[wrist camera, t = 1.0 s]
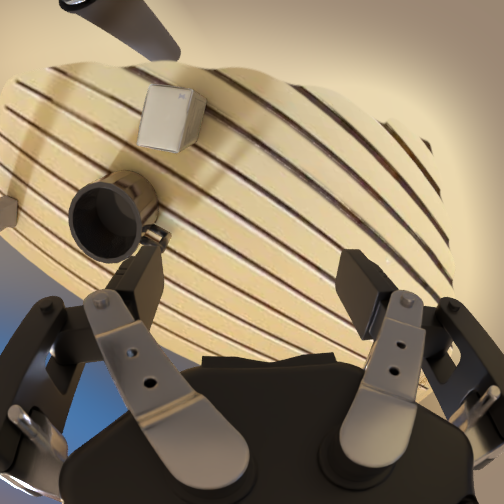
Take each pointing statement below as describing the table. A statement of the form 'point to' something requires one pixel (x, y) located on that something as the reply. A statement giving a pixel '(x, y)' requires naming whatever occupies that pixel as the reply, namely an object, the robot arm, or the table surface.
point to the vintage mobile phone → (8, 212)
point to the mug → (115, 217)
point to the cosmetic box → (170, 118)
